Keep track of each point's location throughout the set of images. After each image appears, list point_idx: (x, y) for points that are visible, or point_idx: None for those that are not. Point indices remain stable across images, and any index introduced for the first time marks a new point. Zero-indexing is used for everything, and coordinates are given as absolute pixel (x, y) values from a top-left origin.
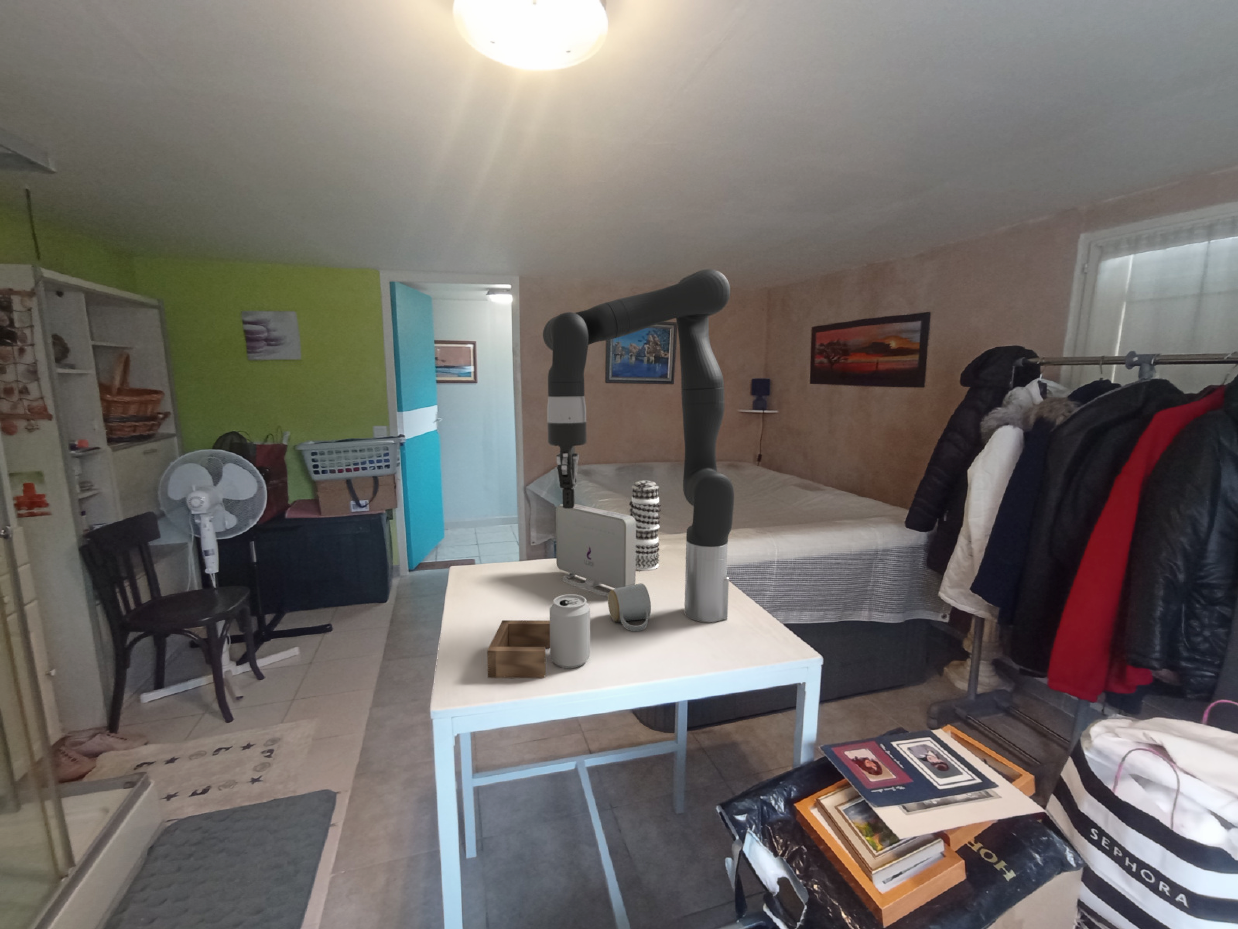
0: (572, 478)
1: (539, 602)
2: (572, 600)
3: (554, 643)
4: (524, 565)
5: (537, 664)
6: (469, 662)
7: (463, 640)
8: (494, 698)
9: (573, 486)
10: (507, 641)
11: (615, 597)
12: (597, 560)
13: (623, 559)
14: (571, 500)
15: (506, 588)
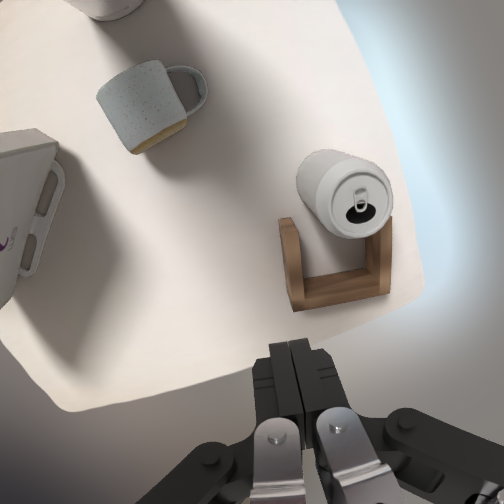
0: (445, 453)
1: (125, 286)
2: (360, 198)
3: (361, 207)
4: (15, 343)
5: None
6: (339, 311)
7: None
8: (414, 250)
9: (359, 422)
10: (309, 285)
11: (171, 129)
12: (11, 221)
13: (22, 154)
14: (320, 369)
15: (96, 347)
